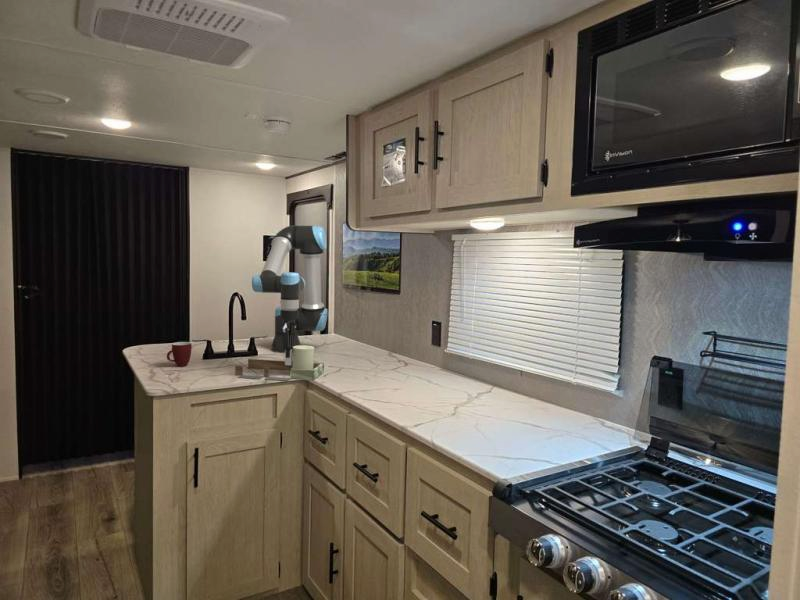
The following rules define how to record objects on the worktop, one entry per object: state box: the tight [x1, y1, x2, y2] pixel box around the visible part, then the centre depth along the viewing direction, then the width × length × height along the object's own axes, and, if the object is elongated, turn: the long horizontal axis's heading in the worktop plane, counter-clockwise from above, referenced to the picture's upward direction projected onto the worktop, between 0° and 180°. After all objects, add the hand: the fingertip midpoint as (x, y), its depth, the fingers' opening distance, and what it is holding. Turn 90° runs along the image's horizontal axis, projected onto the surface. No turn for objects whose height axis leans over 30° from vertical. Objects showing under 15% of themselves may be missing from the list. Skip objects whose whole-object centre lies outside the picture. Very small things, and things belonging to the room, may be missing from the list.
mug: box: [166, 341, 193, 368], centre depth 236 cm, size 11×8×10 cm
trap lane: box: [234, 358, 325, 381], centre depth 228 cm, size 14×34×4 cm, turn 82°
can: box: [292, 344, 315, 370], centre depth 227 cm, size 9×9×12 cm
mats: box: [237, 374, 291, 382], centre depth 219 cm, size 4×21×1 cm, turn 82°
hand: (288, 364), depth 226 cm, fingers closed
